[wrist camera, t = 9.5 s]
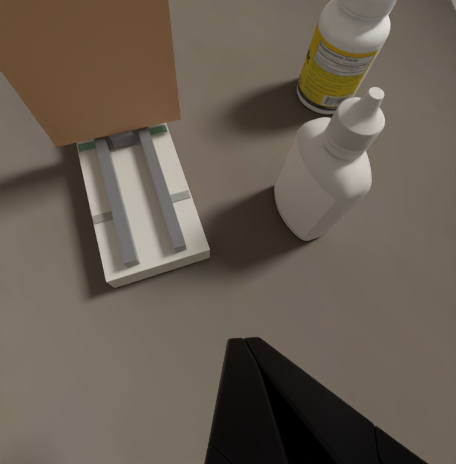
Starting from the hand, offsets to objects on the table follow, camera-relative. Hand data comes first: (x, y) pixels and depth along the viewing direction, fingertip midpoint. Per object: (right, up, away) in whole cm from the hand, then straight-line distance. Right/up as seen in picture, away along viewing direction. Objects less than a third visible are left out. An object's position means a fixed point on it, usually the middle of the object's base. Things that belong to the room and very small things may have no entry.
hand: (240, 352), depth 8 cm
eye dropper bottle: (+5, +5, +17) cm, 18 cm away
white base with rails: (-8, +7, +16) cm, 19 cm away
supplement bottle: (+9, +16, +22) cm, 29 cm away
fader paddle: (-8, +11, +15) cm, 21 cm away
